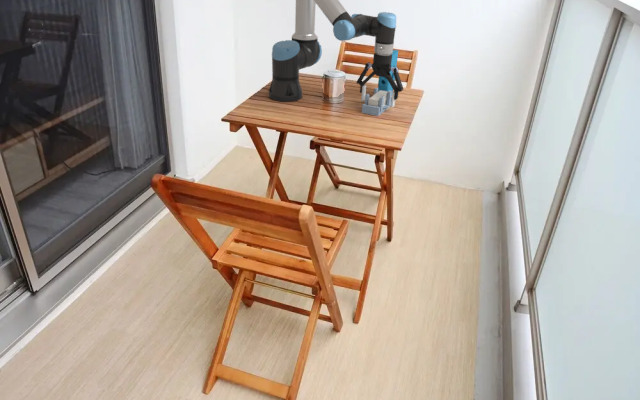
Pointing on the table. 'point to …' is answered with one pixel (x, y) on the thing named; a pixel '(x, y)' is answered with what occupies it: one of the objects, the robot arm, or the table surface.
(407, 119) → the table surface
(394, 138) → the table surface
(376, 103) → the white rectangular bar
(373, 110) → the rack
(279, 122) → the table surface
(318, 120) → the table surface
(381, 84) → the block
